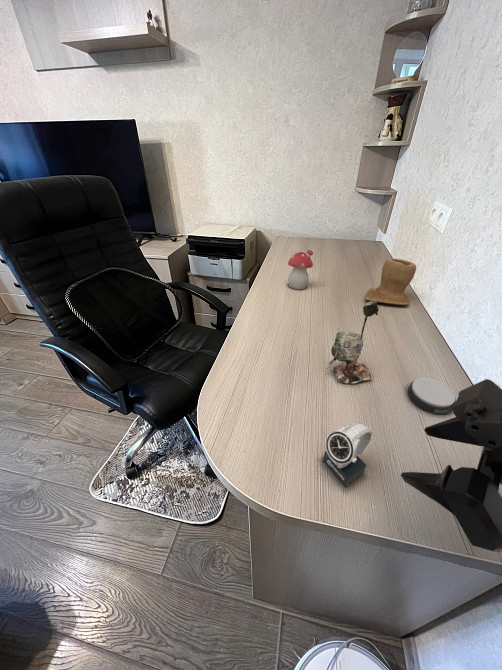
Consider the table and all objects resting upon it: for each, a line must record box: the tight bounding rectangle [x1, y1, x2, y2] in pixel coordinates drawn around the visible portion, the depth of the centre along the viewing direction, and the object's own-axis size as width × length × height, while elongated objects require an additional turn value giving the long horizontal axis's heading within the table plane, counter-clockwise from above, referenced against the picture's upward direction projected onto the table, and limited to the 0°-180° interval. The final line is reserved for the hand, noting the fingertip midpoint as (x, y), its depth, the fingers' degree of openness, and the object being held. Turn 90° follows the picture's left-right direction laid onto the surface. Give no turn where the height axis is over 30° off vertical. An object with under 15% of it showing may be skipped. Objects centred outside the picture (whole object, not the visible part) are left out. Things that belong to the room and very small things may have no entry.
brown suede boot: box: [364, 257, 417, 306], centre depth 98 cm, size 15×12×15 cm
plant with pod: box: [325, 300, 379, 384], centre depth 64 cm, size 8×11×20 cm
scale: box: [407, 377, 457, 416], centre depth 63 cm, size 9×9×3 cm
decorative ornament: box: [287, 249, 314, 290], centre depth 107 cm, size 9×6×15 cm
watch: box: [322, 421, 373, 488], centre depth 47 cm, size 6×8×11 cm
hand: (415, 452), depth 38 cm, fingers open, 9 cm apart
